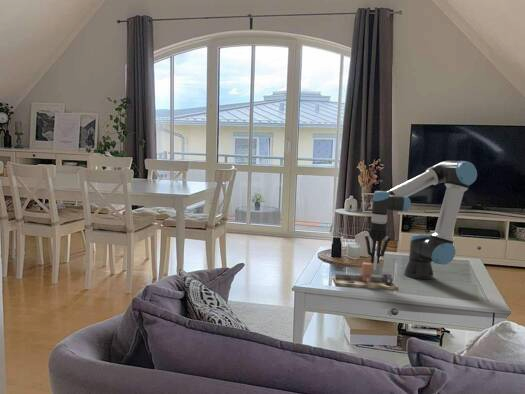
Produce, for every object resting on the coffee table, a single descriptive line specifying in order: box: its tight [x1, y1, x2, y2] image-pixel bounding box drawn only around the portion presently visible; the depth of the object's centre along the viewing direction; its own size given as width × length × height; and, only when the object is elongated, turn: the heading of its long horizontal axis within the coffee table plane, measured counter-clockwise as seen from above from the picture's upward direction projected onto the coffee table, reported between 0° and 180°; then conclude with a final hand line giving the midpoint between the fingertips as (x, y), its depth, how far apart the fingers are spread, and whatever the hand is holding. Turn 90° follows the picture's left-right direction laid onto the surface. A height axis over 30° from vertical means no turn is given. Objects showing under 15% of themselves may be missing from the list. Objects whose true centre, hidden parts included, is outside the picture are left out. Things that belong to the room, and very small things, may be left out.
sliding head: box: [360, 261, 373, 282], centre depth 238 cm, size 4×8×8 cm, turn 179°
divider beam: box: [334, 272, 394, 284], centre depth 238 cm, size 28×7×6 cm, turn 89°
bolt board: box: [331, 276, 399, 291], centre depth 238 cm, size 30×12×1 cm, turn 89°
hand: (374, 269), depth 240 cm, fingers closed
